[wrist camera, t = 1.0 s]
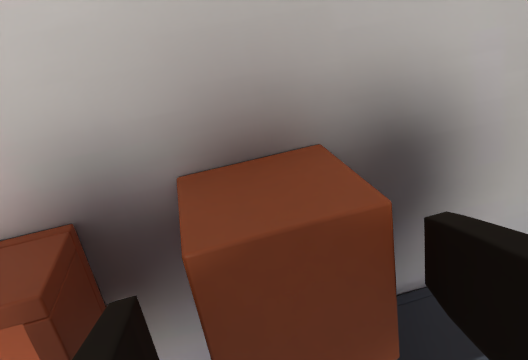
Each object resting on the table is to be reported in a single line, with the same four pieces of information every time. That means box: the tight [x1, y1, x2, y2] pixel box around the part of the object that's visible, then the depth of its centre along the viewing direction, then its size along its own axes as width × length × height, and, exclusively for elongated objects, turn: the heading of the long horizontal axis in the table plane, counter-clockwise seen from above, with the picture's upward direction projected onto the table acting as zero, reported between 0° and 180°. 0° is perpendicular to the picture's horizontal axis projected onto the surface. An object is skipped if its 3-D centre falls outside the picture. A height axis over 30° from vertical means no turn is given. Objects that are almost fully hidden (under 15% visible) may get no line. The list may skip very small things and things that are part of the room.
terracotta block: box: [177, 144, 400, 360], centre depth 11 cm, size 4×4×4 cm
